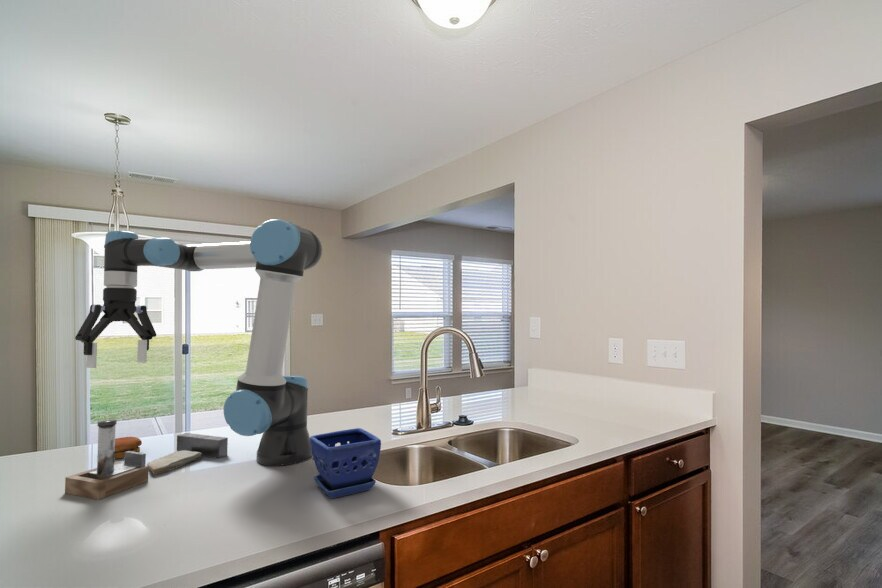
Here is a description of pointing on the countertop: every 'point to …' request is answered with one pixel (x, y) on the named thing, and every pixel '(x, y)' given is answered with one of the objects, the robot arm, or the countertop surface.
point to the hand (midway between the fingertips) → (117, 365)
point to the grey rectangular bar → (203, 444)
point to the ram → (108, 451)
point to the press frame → (104, 483)
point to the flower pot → (345, 461)
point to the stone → (173, 461)
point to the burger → (126, 446)
